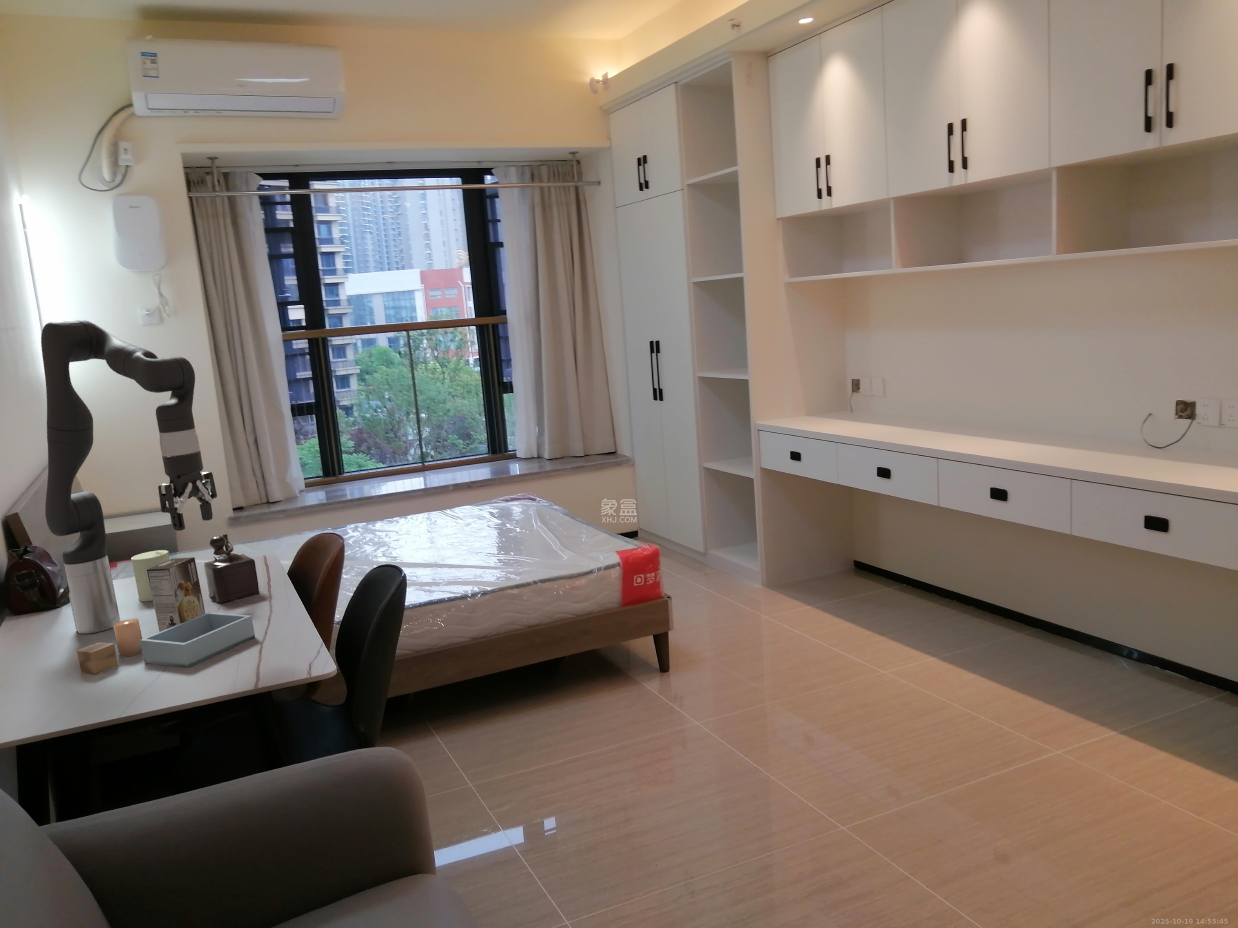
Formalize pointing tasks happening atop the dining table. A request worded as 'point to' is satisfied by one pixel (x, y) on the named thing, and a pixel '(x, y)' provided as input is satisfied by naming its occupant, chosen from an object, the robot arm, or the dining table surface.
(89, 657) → the walnut cube
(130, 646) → the peach rounded cylinder
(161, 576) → the coffee box
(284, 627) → the dining table surface
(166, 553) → the can
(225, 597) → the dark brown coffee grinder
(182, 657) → the tote
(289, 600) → the dining table surface
